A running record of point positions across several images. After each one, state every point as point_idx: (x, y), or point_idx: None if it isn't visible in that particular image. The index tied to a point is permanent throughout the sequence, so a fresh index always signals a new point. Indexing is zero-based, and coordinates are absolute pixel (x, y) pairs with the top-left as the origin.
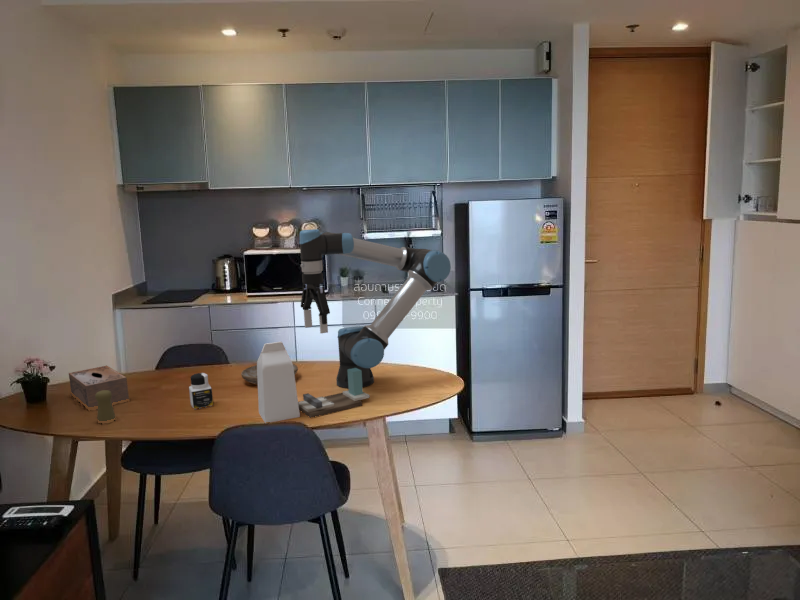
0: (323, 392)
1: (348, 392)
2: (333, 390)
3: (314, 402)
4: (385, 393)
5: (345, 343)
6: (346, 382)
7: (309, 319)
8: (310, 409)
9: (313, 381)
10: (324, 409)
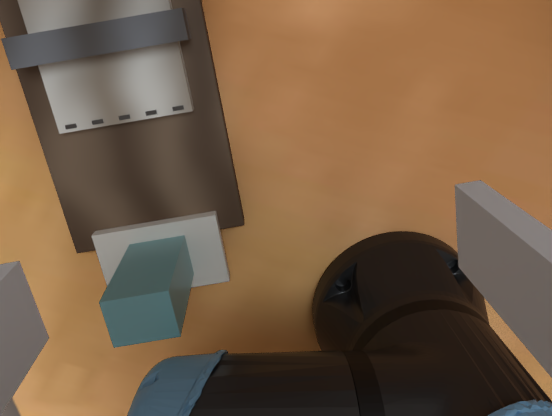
0: (344, 149)
1: (188, 235)
2: (347, 197)
3: (32, 33)
4: None
5: (356, 405)
6: (344, 267)
7: (499, 286)
8: (18, 3)
9: (538, 151)
10: (34, 76)
